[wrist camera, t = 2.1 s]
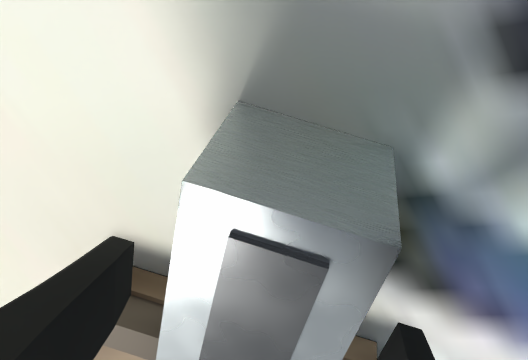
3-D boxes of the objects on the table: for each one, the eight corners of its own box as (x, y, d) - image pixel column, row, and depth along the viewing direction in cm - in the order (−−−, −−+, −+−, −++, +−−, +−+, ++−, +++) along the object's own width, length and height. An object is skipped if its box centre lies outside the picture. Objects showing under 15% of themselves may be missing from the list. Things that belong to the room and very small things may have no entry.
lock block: (392, 145, 14) (401, 255, 9) (326, 296, 18) (310, 423, 13) (238, 99, 14) (179, 185, 10) (206, 257, 18) (152, 370, 14)
